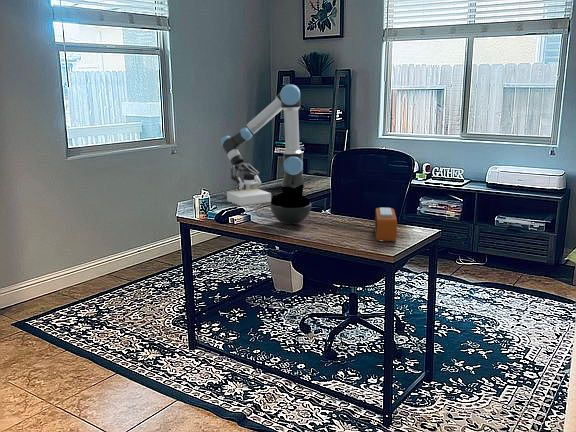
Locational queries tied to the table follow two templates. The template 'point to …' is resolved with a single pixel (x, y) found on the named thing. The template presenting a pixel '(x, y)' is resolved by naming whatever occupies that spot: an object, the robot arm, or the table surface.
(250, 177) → the container
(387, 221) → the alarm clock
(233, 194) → the block
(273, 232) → the table surface
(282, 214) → the bowl of black rocks
